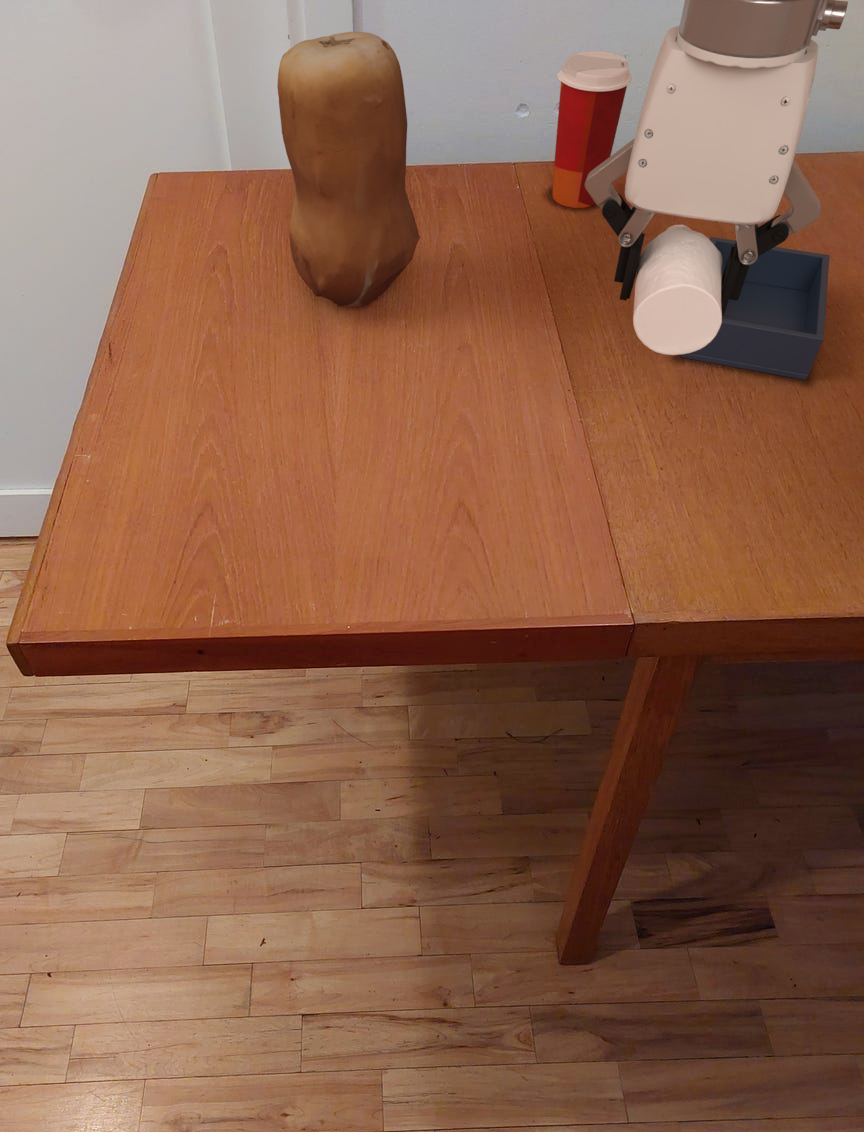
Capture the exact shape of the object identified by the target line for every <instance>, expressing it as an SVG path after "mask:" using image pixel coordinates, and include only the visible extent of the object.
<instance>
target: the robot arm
mask: <svg viewBox="0 0 864 1132" xmlns="http://www.w3.org/2000/svg"><path fill="white" fill-rule="evenodd" d="M683 3H684V4H683V8H682V12H681V18H680V21H679V25H676V26H673V27H671V28H669V29H668V30H667V31H666V34H665V36H664V38H663V40H662V43H661V45H660V48H659V51H658V54H657V56H656V60H655V62H654V65H653V68H652V71H651V75H650V78H649V81H648V85H647V89H646V92H645V96H644V100H643V103H642V108H641V111H640V116H639V119H638V123H637V127H636V130H635V131H636V132H635V136H634V138H633V139H632V140H630V141H629V142H627V143H626V144H625V145H623V147H621V148H619V149H618V150H617V151H616V152H614V153H613V154H611V156H610V157H609V158H608V159H606V160H605V161H604V162H602V163H601V164H600V165H598V166H597V167H596V168H595V169H593V170H592V171H591V172H590V173H589V174H588V177H587V179H586V182H585V188H586V190H587V192H588V193H589V195H590V196H591V197H592V199H593V200H594V202H595V203H596V204H595V205H596V206H597V207H598V208H599V209H600V210H601V214H602V216H603V218H604V220H605V221H606V222H607V224H608V225H609V226H610V228H611V229H612V231H613V232H614V234H615V235H616V236H617V237H618V238H617V242H618V244H619V245H620V249H619V254H618V259H617V265H616V269H615V274H614V279H613V282H615V283H622V286H621V288H620V289H621V290H620V294H619V300H620V301H624V302H625V301H627V300H630V298H631V295H632V291H633V288H634V285H635V282H636V274H637V267H638V262H639V258H640V255H641V253H642V251H643V245H644V241H645V237H646V233H644V230H645V229H646V227H647V226H648V224H649V223H650V222H651V220H652V219H653V217H654V215H655V214H661V215H667V216H674V217H681V218H688V219H695V220H702V221H703V220H704V221H711V222H718V223H724V224H725V223H726V224H734V231H735V239H736V241H737V243H735V246H734V247H733V246H732V247H731V250H730V253H729V257H728V260H727V263H726V266H725V270H724V273H723V276H722V280H721V310H722V316H724V314H725V310H726V307H727V304H728V301H729V299H730V300H737V301H738V299H739V296H740V293H741V290H742V287H743V284H744V281H745V278H746V275H747V272H748V269H749V266H750V265H751V264H753V263H754V262H755V261H756V260H757V258H758V257H759V256H760V255H762V254H764V253H765V252H767V251H769V250H770V249H772V248H774V247H778V246H779V245H781V244H782V243H784V242H785V241H786V240H787V239H788V238H789V237H790V236H792V235H793V234H796V233H798V232H799V231H801V230H803V229H805V228H807V227H808V226H810V225H811V224H814V222H816V221H817V220H818V219H820V217H821V212H822V202H821V201H820V200H821V199H819V197H818V195H817V194H816V192H815V191H814V189H813V187H812V185H811V184H810V182H809V181H808V179H807V177H806V176H805V175H804V172H803V171H802V170H801V168H800V166H799V164H798V163H797V161H796V160H795V156H796V154H797V149H798V147H799V146H798V145H799V142H800V138H801V135H802V130H803V127H804V122H805V119H806V114H807V112H808V111H807V110H808V106H809V100H810V96H811V92H812V88H813V84H814V80H815V75H816V69H817V61H818V55H819V45H818V43H817V42H816V41H814V40H813V39H812V36H813V37H817V36H818V33H819V31H821V32H822V31H823V32H825V31H826V30H827V29H829V30H831V29H832V30H840V29H841V27H842V25H843V22H844V20H845V16H846V12H847V8H848V5H849V1H847V0H684V2H683ZM625 174H626V177H625V185H624V186H625V187H624V197H623V195H621V194H620V193H619V192H617V191H616V188H615V186H614V184H613V183H614V182H615V181H617V180H618V179H619V178H621V177H622V176H624V175H625ZM783 195H785V196H786V198H787V200H788V202H789V203H790V205H791V207H790V208H789V209H788V210H786V211H785V212H784V213H782V214H778V215H776V213H777V211H778V208H779V206H780V204H781V201H782V199H783ZM629 204H630V206H631V207H630V206H629ZM775 215H776V216H775ZM760 224H762V225H760Z"/></svg>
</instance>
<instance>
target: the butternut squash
mask: <svg viewBox="0 0 864 1132" xmlns="http://www.w3.org/2000/svg"><path fill="white" fill-rule="evenodd" d="M404 87H405V86H404V81H403V73H402V69H401V65H400V62H399V59H398V56H397V55H396V52H395V50H394V49H393V47H392V46H391V45H390V44H389V42H387V41H386V40H385V39H383V38H381V37H380V36H379V35H376V34H374V33H372V32H367V31H366V32H365V31H345V32H340V33H334V34H333V33H332V34H331V35H330V34H329V35H325V36H319V37H317V38H316V37H315V38H312V39H305V40H302V41H299V42H298V43H296V44H294V45H293V46H292V47H291V48H289V49H288V50H287V51H286V52H284V53H283V55H282V56H281V59H280V62H279V66H278V72H277V87H276V88H277V96H278V107H279V108H278V109H279V117H280V126H281V127H280V128H281V135H282V140H283V141H282V142H283V144H284V149H285V153H286V156H287V160H288V163H289V166H290V169H291V171H292V177H293V180H294V185H295V191H294V199H293V203H292V208H291V209H292V210H291V215H290V221H289V227H288V229H289V233H288V234H289V235H288V238H289V244H290V245H289V247H290V253H291V257H292V261H293V263H294V266H295V269H296V272H297V273H298V275H299V276H300V278H301V279H302V281H303V282H304V283H305V284H306V285H307V286H308V288H309V289H310V290H311V292H312V293H313V295H314V296H315V297H321V298H324V299H327V300H329V301H330V302H332V303H333V304H334V305H336V306H338V307H340V308H341V307H347V308H360V307H365V306H367V305H369V304H370V303H372V302H373V301H375V300H376V299H378V298H379V297H380V296H382V295H383V294H384V293H385V292H386V291H387V290H388V288H389V287H390V286H391V285H392V284H393V283H394V281H396V279H397V278H398V277H399V276H400V274H402V273H403V271H404V270H405V269H406V268H407V267H408V266H409V264H410V263H411V262H412V261H413V258H414V255H415V252H416V249H417V246H418V244H419V243H418V242H419V241H420V240H421V236H420V234H419V230H418V226H417V222H416V219H415V214H414V211H413V208H412V206H411V204H410V200H409V198H408V194H407V191H406V173H407V144H408V143H407V142H408V141H407V140H408V139H407V138H408V115H407V108H406V97H405V88H404Z"/></svg>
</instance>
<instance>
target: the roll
mask: <svg viewBox="0 0 864 1132" xmlns="http://www.w3.org/2000/svg"><path fill="white" fill-rule="evenodd" d="M721 280H722V255H721V253H720V251H719V250H718V249H717V248H716V247H715V245H714V244H713V243H712V242H711V241H710V238H708V237H707V236H706V235H705V234H703V233H702V232H699V231H697V230H694V229H691V227H689V226H688V225H685V224H675V225H671V226H669V227H668V228H667V229H665V230H664V231H662V232H661V233H659V234H657V236H656V237H654V238H653V239H652V240H650V241H649V242H648V243H647V244H646V245H645V246H644V247H643V249H642V250H641V254H640V258H639V262H638V267H637V272H636V276H635V282H634V300H633V313H632V324H633V325H632V326H633V329H634V332H635V334H636V336H637V338H638V339H639V341H640V342H641V343H642V344H643V346H646V348H648V349H649V350H651V351H653V352H654V353H658V354H660V355H665V356H680V355H681V354H687V353H692V352H694V351H697V350H700V349H701V348H703V347H705V346H706V345H707V344H709V343H710V342H711V341H712V340H713V338H714V337H715V336H716V335H717V333H718V330H719V328H720V326H721V323H722V310H721Z"/></svg>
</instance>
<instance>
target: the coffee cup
mask: <svg viewBox="0 0 864 1132" xmlns="http://www.w3.org/2000/svg"><path fill="white" fill-rule="evenodd" d="M557 79H558V80H559V81H560V90H559V102H558V116H557V127H556V138H555V152H554V162H553V177H552V198H553V199H552V200H553V201H555V202H556V203H557V204H559V205H561V206H564V207H567V208H573V209H574V208H575V209H584V208H585V209H586V208H589V207H593V206H595V205H596V203H595V202H594V200H593V199H592V197H591V196H590V195H589V193H588V192H587V190H586V188H585V182H586V179H587V177H588V174H589V173H590V172H591V171H592V170H593V169H595V168H596V167H597V166H598V165H600V164H601V163H602V162H604V161H605V160H606V159H608V158H609V157H610V156H612V152H613V148H614V144H615V139H616V134H617V131H618V130H617V129H618V125H619V122H620V118H621V114H622V109H623V105H624V101H625V97H626V92H627V88H628V86H629V85H630V83H632V79H633V78H632V74H631V72H630V68H629V62H628V61H627V59H626V58H625V57H623V56H621V55H618V54H616V53H612V52H608V51H599V50H598V51H596V50H589V51H588V50H587V51H581V52H576V53H574V54H572V55H570V56H568V57H567V58H566V59H565V62H563V63H562V65H561V69H560V71H558V72H557Z"/></svg>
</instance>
